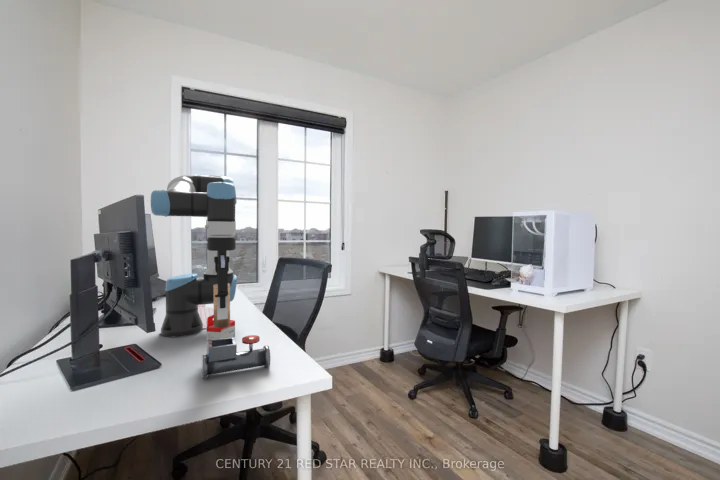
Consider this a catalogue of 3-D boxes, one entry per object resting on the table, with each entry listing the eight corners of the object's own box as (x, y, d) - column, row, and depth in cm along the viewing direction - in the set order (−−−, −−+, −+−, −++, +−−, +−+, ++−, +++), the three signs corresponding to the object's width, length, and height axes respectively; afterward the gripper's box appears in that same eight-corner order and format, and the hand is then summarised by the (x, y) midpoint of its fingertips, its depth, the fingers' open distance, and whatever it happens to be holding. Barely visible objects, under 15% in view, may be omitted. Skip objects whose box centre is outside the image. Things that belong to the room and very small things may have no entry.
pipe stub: (213, 324, 94) (213, 283, 94) (229, 322, 96) (229, 282, 96) (213, 328, 90) (213, 286, 90) (230, 326, 92) (230, 285, 92)
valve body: (202, 383, 88) (202, 348, 88) (202, 372, 95) (202, 340, 94) (270, 371, 96) (270, 339, 96) (266, 361, 103) (266, 332, 102)
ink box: (220, 364, 101) (219, 318, 100) (206, 363, 102) (205, 317, 101) (235, 354, 109) (235, 311, 108) (222, 352, 110) (222, 310, 109)
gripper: (207, 236, 99) (207, 311, 99) (207, 237, 83) (208, 326, 84) (233, 236, 102) (233, 308, 103) (238, 237, 86) (238, 323, 87)
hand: (222, 316), depth 93 cm, fingers closed on pipe stub, 4 cm apart
